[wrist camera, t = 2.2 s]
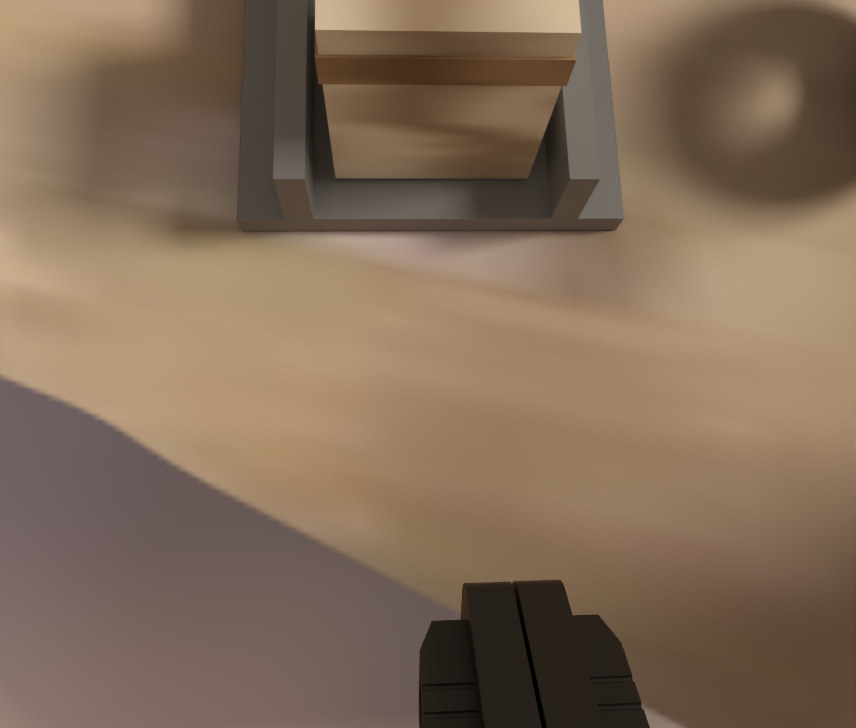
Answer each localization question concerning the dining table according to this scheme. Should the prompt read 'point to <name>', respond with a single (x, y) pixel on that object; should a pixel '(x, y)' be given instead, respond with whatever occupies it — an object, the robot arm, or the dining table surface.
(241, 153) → the bay
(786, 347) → the dining table surface
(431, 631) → the robot arm
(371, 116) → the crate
